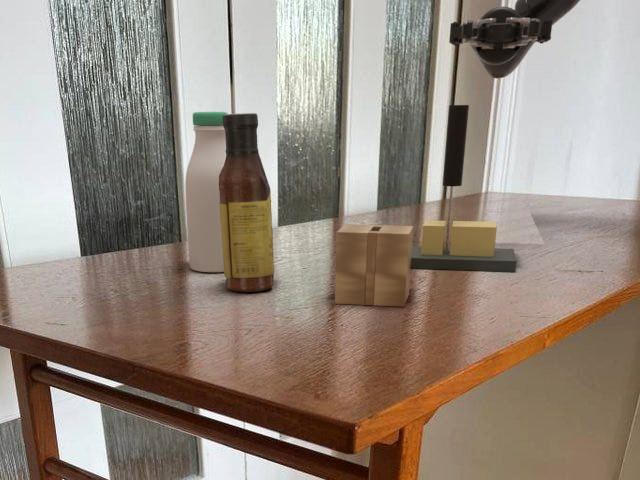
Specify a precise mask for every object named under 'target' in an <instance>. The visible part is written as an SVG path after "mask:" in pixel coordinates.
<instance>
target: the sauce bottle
mask: <svg viewBox="0 0 640 480" xmlns="http://www.w3.org/2000/svg"><path fill="white" fill-rule="evenodd" d="M258 119H259V117H258V114H257V112H243V113H241V112H240V113H227V114H225V115H223V127H224V129H225V136H226V151H225V152H226V160H225V163H224V166H223V168H222V170H221V172H220V175H219V191H220V202H219V206H220V219H221V233H222V248H223V262H224V272H223V273H224V278H225V286H226V289H228V290H231V291H233V292H235V293H237V292H239V293H257V292H262V291H267V290H270V289H271V288H273V286H274V284H275V283H274V281H275V280H274V277H275V275H274V274H275V260H274V257H275V256H274V231H273V215H272V214H273V212H272V195H271V194H272V193H271V192H272V191H271V187H270V184H269V180H268V177H267V175H266V171H265V168H264V165H263V162H262V159H261V156H260V152H259V148H258V145H259V144H258V126H259V120H258Z"/></svg>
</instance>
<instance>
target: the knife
mask: <svg viewBox="0 0 640 480" xmlns="http://www.w3.org/2000/svg"><path fill="white" fill-rule="evenodd" d="M469 110H470V105H469V104H449V105H448V113H447V123H446V124H447V125H446V139H445V148H444V149H445V150H444V151H445V152H444V164H443V174H442V175H443V176H442V187H449V200H448V201H449V202H448V214H447V222H446V234H445V246H444V247H445V254H447V252H448V247H449V240H450V229H451V217H452V207H453V204H452V203H453V194H454V187H462V185H463V176H464V164H465V153H466V141H467V132H468V131H467V130H468V122H469V121H468V120H469Z"/></svg>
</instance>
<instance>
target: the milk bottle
mask: <svg viewBox="0 0 640 480" xmlns="http://www.w3.org/2000/svg"><path fill="white" fill-rule="evenodd" d="M225 114H228V112H226V111H196V112H193V113H192V125H193V131H194V133H195V134H194V135H195V136H194V137H195V138H194V145H193V149H192V153H191V156H190V159H189V161H188V165H187V166H186V172H185V184H184V187H185V188H184V189H185V190H184V191H185V211H186V212H185V215H186V231H187V249H188V263H189V267H190V269H191V270H193V271H196V272H202V273H224V262H223V248H222V233H221V219H220V206H219V202H220V191H219V175H220V172H221V170H222V168H223V166H224V163H225V160H226V152H225V151H226V136H225V129H224V127H223V115H225Z"/></svg>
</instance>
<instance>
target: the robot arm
mask: <svg viewBox="0 0 640 480" xmlns="http://www.w3.org/2000/svg"><path fill="white" fill-rule="evenodd" d="M580 2H581V0H516V2H515V4H514V8H512V7H509V6H497V7H494V8H492V9H490V10H488V11H487V12H485V13H484V14H483V15H482V16H481V17H480V18H477V19H472V20H466V21H464V22H463V23H462V24H461V23H460V22H457V21H453V22H451V23H450V27H449V29H450V30H449V39H448V40H449V41H448V42H449V44H450V45H452V46H455V47H458V46H460V45H463V44H468V43H469V46H470V47H471V49H472V51H473V52H474V53H475V55H476V56H477V58H478V59H479V61H480V63H481V64H482V66H483V68H484V69H485V71H486V72H487V74H488V76H490V77H491V78H492V79H503V78H505V77H508V76H510V75H511V74H512V73H513V72H515V70H516V69H517V68H518V67H519V65H520V64H521V63H522V61H523V60H524V59H525V57H526V56H527V55H528V53H529V51H530V50H531V49H532V47H533V46H534V45H535V43H539V44H542V45H543V44H544V43H547V42H549V41H551V39H552V30H553V29H552V28H553V26H554V25H555V24H556V23H558V22H559V21H560V20H561V19H562V18H563V17H565V16H566V15H567V14H568V13H569V12H570V11H572V10H573V9H574V8H575V7H576V6H577V5H578V4H579V3H580Z"/></svg>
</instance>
